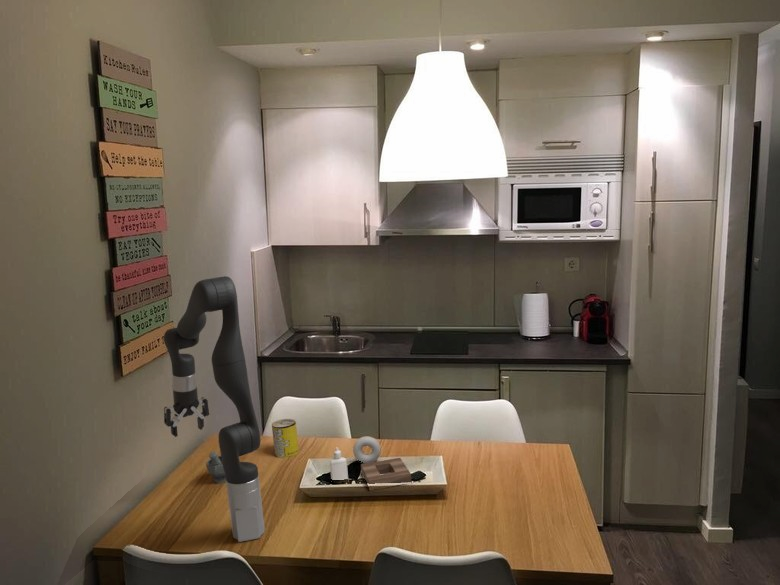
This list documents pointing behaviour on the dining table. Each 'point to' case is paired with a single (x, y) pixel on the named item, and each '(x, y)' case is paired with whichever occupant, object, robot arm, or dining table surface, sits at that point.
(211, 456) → the mortar and pestle
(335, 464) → the eye dropper bottle
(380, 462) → the walnut socket block
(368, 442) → the donut
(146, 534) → the dining table surface
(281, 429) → the beverage can
